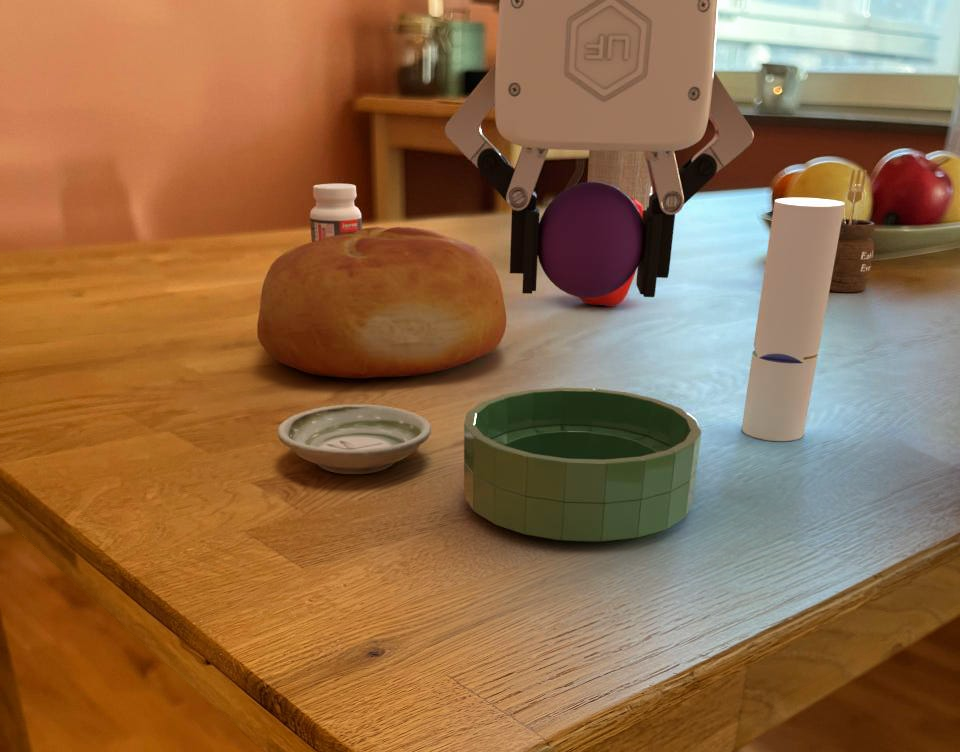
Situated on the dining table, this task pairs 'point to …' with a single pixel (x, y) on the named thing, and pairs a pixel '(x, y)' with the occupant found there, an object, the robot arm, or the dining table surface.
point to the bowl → (580, 463)
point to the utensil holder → (853, 246)
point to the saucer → (354, 436)
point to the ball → (590, 239)
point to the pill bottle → (334, 211)
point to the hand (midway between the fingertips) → (587, 286)
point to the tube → (791, 316)
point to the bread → (381, 304)
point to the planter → (622, 172)
